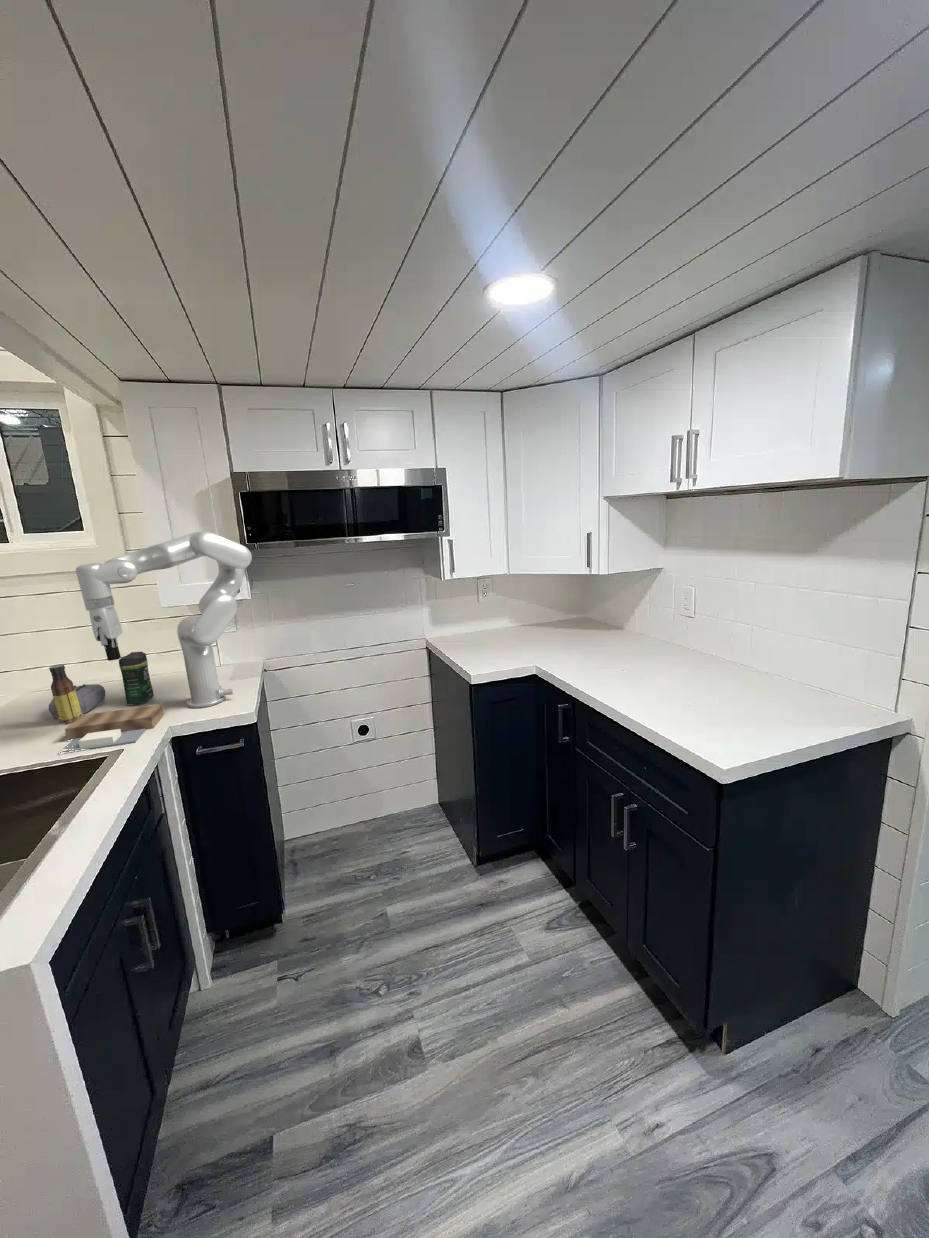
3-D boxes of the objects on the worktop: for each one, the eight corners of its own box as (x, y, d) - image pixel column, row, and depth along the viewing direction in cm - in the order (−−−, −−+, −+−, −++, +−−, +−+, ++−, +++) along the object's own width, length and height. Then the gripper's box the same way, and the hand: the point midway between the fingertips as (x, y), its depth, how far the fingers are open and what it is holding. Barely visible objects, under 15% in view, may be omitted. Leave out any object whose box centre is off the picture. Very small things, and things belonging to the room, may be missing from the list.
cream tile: (112, 736, 156) (113, 742, 157) (120, 728, 162) (121, 734, 162) (78, 741, 154) (79, 747, 155) (87, 733, 160) (89, 739, 161)
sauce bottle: (79, 715, 183) (67, 661, 179) (85, 719, 179) (72, 664, 175) (57, 722, 178) (43, 666, 174) (62, 726, 174) (48, 669, 170)
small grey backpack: (70, 703, 198) (40, 723, 179) (65, 682, 197) (34, 700, 177) (113, 697, 201) (89, 716, 182) (109, 677, 200) (84, 694, 180)
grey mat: (146, 729, 167) (145, 728, 166) (135, 742, 157) (134, 741, 157) (74, 740, 162) (74, 738, 162) (58, 754, 152) (58, 752, 152)
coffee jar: (147, 704, 190) (137, 655, 187) (123, 707, 189) (113, 658, 185) (157, 695, 200) (148, 649, 196) (135, 698, 199) (125, 651, 195)
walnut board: (164, 715, 179) (161, 704, 178) (153, 728, 167) (150, 716, 166) (84, 726, 173) (81, 715, 172) (67, 741, 162) (64, 729, 161)
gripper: (104, 605, 156) (120, 663, 160) (121, 597, 170) (134, 651, 174) (76, 609, 154) (92, 668, 158) (94, 601, 168) (109, 655, 172)
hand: (114, 659), depth 166 cm, fingers closed
